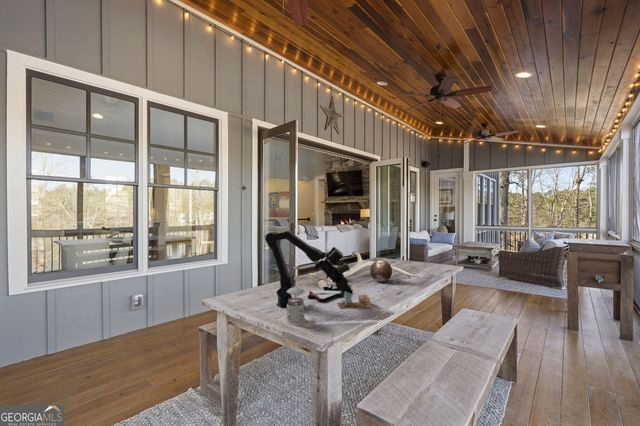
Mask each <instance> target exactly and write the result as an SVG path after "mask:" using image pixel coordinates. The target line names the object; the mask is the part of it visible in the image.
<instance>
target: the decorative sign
mask: <svg viewBox="0 0 640 426" xmlns="http://www.w3.org/2000/svg"><path fill="white" fill-rule="evenodd" d="M351 290H352V291H353V292H354V290H353V289H351ZM351 295H354V293H352V294H351ZM336 298H338V299H339V298H340V299H341V298H345V291H343V290H339V289H338V288H337V287H336V286H335V283H334V284H332V283H331V284H329V285H324V286H323V288H322V289H311V290H309V294H308V295H307V300H315V301H316V302H318V303H320V304H323V303H326V302H329V301H332V300H334V299H336Z"/></svg>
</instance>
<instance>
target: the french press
mask: <svg viewBox="0 0 640 426" xmlns="http://www.w3.org/2000/svg"><path fill="white" fill-rule="evenodd" d="M298 269H299V268H298V266H293V270H295V271H294V273H295V276H294V280H295V287H294V288H290V289H289V290H287V293H289V294H291V295H293V297H292V298H290V299H288V303H287V307H286V319H285V320H284V324H286V325H289V326H301V325H304V324H306V323H307V319H306V318H305V302H304V299H303V298H301V297H297V296H299V295H301V294H305V292H306V291H305V290H304V289H303V288H301V287H297V276H296V275H297V270H298Z"/></svg>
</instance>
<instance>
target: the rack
mask: <svg viewBox="0 0 640 426" xmlns="http://www.w3.org/2000/svg"><path fill="white" fill-rule="evenodd" d="M357 297H358V300H357V301H354V302H353V300H351V303H348V304H345V300H342V302H337V303H336V304H337V306H338V308H339V310H354V309H355V310H357V309H358V310H359V309H364V310H365V309H372V307H371V306H372V305H371V297H370V296H369V295H368V294H358V295H357Z"/></svg>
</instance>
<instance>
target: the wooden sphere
mask: <svg viewBox="0 0 640 426" xmlns="http://www.w3.org/2000/svg"><path fill="white" fill-rule="evenodd" d="M369 270H370V271H369V273H370V276H371V277H372V279H373V280H374V281H376V282H379V283H385V282H387V281H388V280H390V279H391V276H393V275H392V274H393V268H392V266H391V264H390V263H389V262H388V261H386V260H383V259H379V260H378V259H377V260H376V261H374V262H372V264H371V265H370V268H369Z"/></svg>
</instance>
